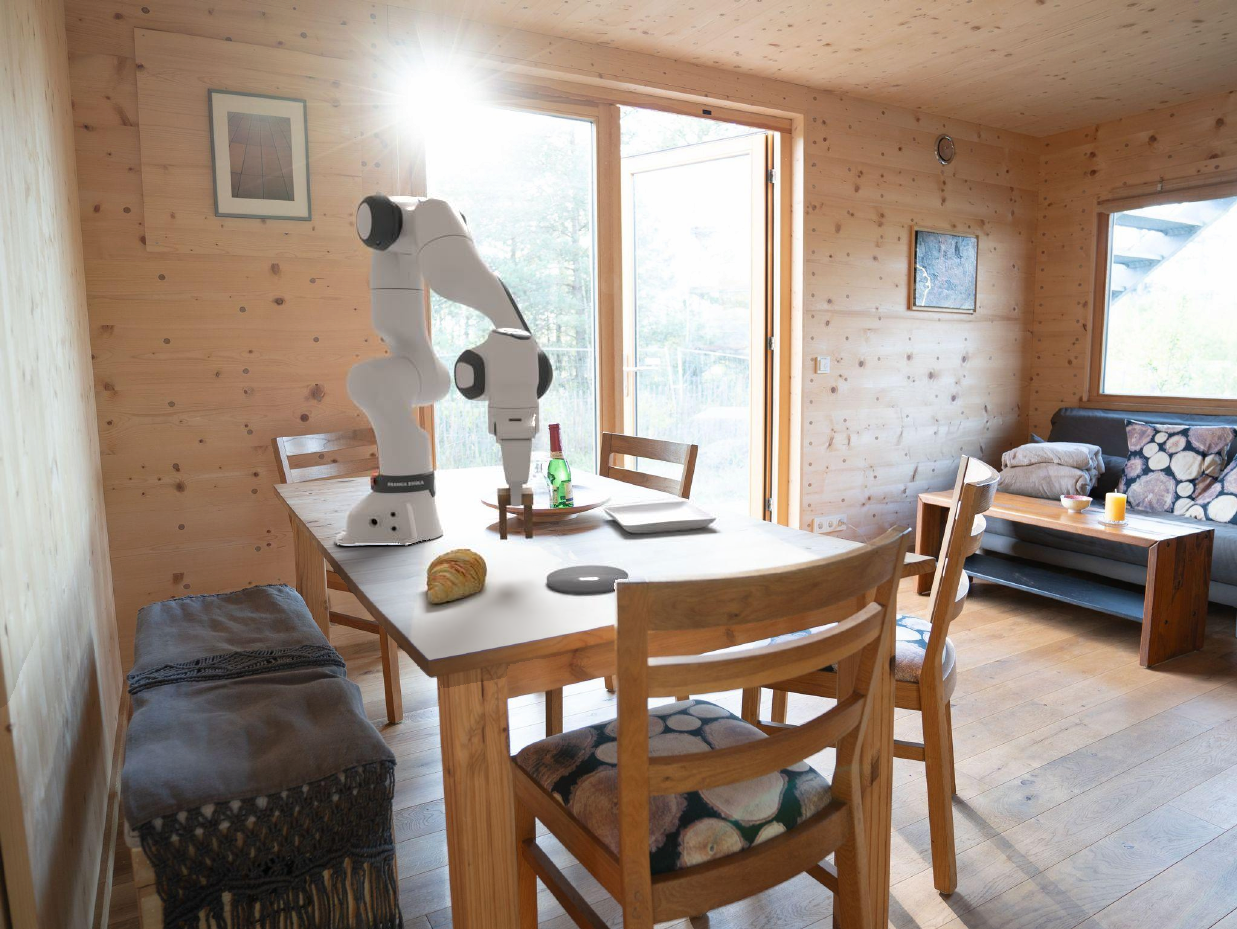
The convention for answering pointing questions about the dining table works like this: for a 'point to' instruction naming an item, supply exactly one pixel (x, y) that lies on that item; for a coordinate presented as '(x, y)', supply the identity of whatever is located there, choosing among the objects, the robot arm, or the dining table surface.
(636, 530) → the salad plate
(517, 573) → the dining table surface
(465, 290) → the robot arm
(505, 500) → the stool
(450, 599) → the croissant
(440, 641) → the dining table surface
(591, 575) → the grey flat disc
